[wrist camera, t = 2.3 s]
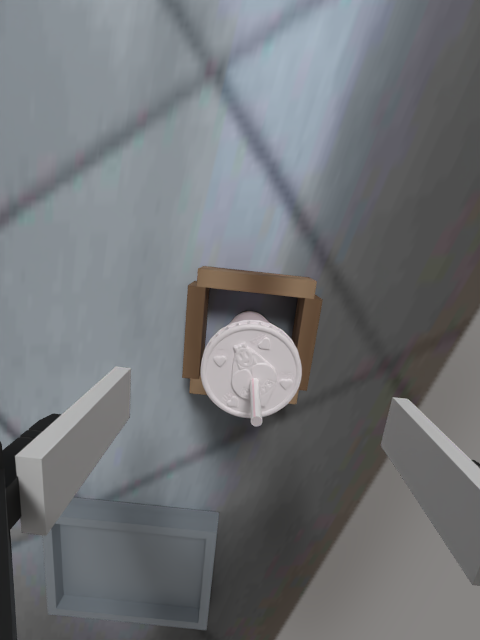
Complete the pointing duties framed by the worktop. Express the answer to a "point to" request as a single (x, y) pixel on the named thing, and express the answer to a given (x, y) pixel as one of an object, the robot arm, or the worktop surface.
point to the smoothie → (251, 368)
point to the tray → (131, 563)
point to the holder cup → (255, 283)
